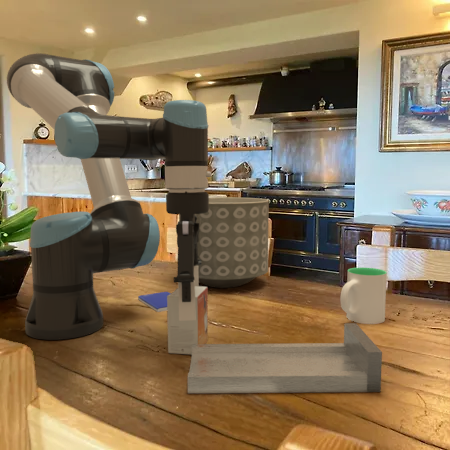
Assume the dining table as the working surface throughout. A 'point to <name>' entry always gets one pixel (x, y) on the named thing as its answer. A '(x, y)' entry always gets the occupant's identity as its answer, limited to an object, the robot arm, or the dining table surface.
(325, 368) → the tray
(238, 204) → the planter
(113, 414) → the dining table surface
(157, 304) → the hard drive
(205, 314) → the small box
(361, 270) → the mug
